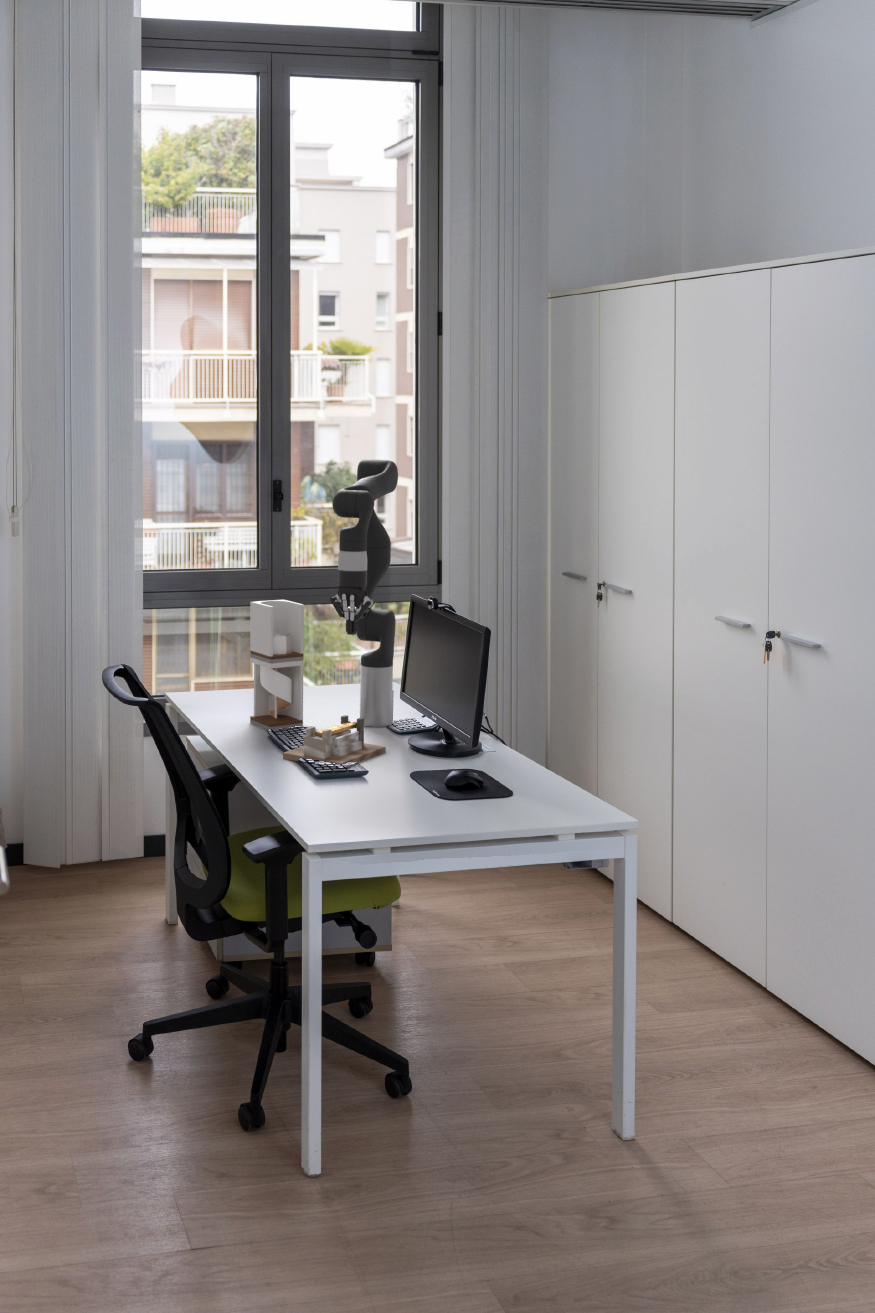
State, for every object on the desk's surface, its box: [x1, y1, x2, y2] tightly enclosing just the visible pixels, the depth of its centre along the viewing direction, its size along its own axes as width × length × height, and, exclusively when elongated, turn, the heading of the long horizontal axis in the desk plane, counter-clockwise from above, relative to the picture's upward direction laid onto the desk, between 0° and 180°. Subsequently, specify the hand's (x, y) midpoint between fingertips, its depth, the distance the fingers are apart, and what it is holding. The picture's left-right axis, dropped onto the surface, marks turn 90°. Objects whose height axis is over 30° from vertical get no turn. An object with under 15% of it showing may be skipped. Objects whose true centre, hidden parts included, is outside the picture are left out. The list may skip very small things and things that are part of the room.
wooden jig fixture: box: [282, 714, 387, 764], centre depth 344 cm, size 21×18×9 cm
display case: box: [249, 599, 305, 731], centre depth 374 cm, size 11×11×35 cm
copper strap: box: [315, 720, 357, 737], centre depth 344 cm, size 16×3×2 cm, turn 150°
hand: (351, 634), depth 345 cm, fingers closed
